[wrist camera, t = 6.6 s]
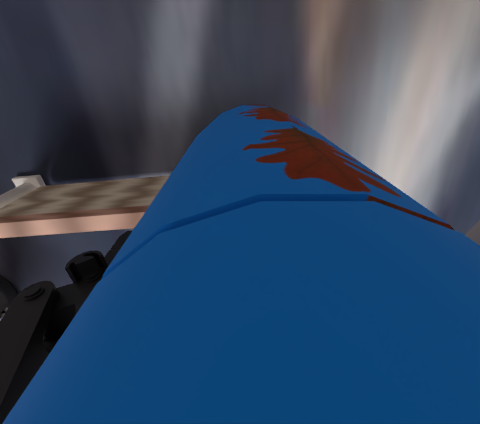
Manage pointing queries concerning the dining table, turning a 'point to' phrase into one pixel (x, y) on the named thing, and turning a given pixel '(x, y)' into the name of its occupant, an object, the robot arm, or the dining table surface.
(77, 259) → the robot arm
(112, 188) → the gate
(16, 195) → the gate posts
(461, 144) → the dining table surface
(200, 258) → the thermos
